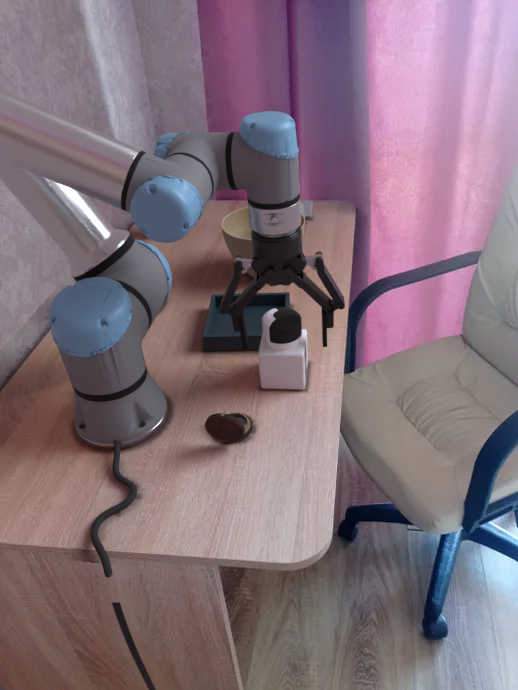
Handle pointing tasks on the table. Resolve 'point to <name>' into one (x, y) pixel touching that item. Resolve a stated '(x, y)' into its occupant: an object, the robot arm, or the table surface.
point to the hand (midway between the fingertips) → (284, 344)
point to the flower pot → (242, 234)
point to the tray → (221, 327)
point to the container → (283, 350)
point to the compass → (229, 426)
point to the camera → (306, 207)
